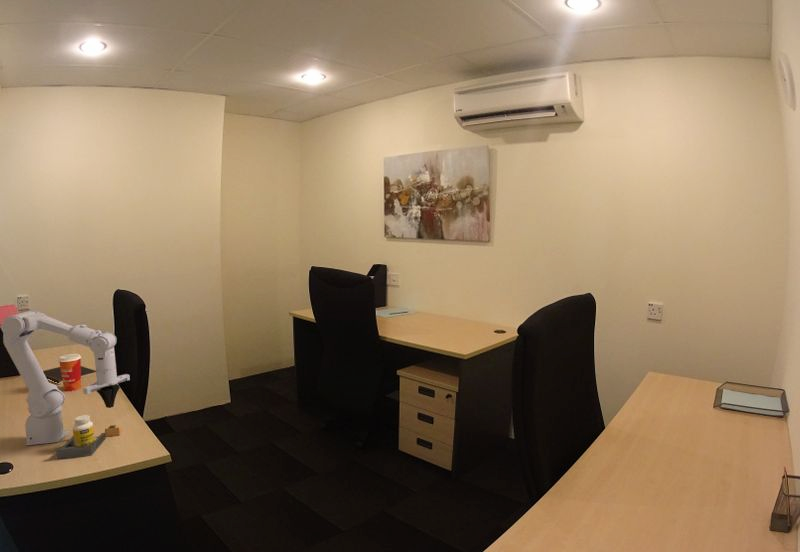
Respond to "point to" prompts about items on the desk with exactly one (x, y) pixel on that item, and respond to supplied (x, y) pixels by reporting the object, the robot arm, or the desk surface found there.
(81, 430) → the supplement bottle
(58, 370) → the hardcover book
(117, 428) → the block
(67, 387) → the coffee cup
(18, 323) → the robot arm
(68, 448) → the rail clip
